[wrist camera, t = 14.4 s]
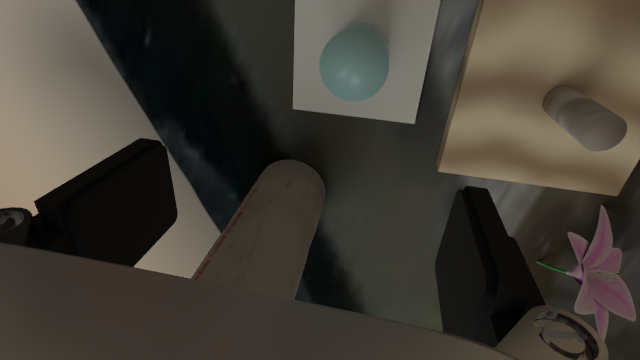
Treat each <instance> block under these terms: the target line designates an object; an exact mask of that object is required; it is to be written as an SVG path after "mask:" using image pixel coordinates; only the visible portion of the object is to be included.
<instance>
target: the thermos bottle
mask: <svg viewBox="0 0 640 360" xmlns="http://www.w3.org/2000/svg"><path fill="white" fill-rule="evenodd" d="M325 197H326V189H325V185H324V182H323V180H322V178H321V177H320V176H319V174H318V173H317V172H316V171H315V170H314V169H313V168H311V167H310V166H308V165H307V164H305V163H302V162H300V161H296V160H280V161H277V162H274V163H272V164H270V165H269V166H268V167H267V168H266V169H265V170H264V171H263V172H262V174H261V175H260V177H259V178H258V180H257V181H256V183H255V184H254V186H253V187H252V189H251V190H250V192H249V193H248V195H247V196H246V198H245V199H244V201H243V202H242V204H241V205H240V207H239V208H238V209H237V211H236V213H235V214H234V216H233V217H232V219H231V220H230V222H229V223H228V225H227V226H226V228H225V229H224V231H223V232H222V234H221V235H220V237H219V238H218V239H217V241H216V242H215V244H214V245H213V247H212V248H211V250H210V251H209V253H208V254H207V256H206V257H205V259H204V260H203V262H202V263H201V265H200V266H199V267H198V269H197V270H196V272H195V274H194V275H193V276H192V278H191V279H194V280H199V281H204V282H209V283H214V284H219V285H224V286H229V287H234V288H239V289H243V290H248V291H253V292H258V293H263V294H268V295H273V296H278V297H283V298H288V299H293V300H294V299H295V295H296V292H297V289H298V286H299V282H300V279H301V276H302V273H303V270H304V266H305V263H306V259H307V254H308V250H309V247H310V244H311V241H312V239H313V236H314V234H315V231H316V228H317V224H318V221H319V218H320V215H321V212H322V208H323V205H324V202H325Z"/></svg>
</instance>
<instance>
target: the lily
mask: <svg viewBox="0 0 640 360" xmlns="http://www.w3.org/2000/svg"><path fill="white" fill-rule="evenodd" d="M568 237H569V240H570V242H571V244H572V247H573V249H574V252H575V254H576V257H577V259H578V262H579V264H578V265H577V266H576V267H575V268H574V269H573V270H572V271H566V270H561V269H558V268H555V267H552V266H550V265H547V264H545V263H543V262H540V261H536V262H537V263H539V264H541V265H543V266H545V267H547V268H550V269H552V270H555V271H558V272H561V273H565V274H568V275H571V276H573V277H574V278H575V280H576V281H577V282H578V283H579V284H580V286H581V289H580V292H579V294H578V297H577V300H576V303H575V306H574V311H575V312H576V313H577V314H594V315H595V319H596V324H597V329H598V334H599V335H600V337H601V338H602V340H603V341H605V337H606V333H607V328H608V320H609V312H608V310H609V311H611V312H612V313H614V314H616V315H618V316H621V317H623V318H626V319H628V320H631V321H635V320H636V313H635V307H634V304H633V300H632V297H631V294H630V292H629V290H628V288H627V286H626V284H625V283H624V281H623V280H622V279H621V278H620V277H621V275H617V274H618V273H619V272H621V271H619V270H620V266H621V261H622V252H621V249H619V248H612V243H613V237H612V230H611V226H610V222H609V219H608V215H607V213H606V210H605V208H604V207H603V205H601V208H600V215H599V221H598V227H597V230H596V233H595V236H594V238H593V241H592V243H591V245H590V247H589V243H588V242H587V241H586V240H585V239H584V238H582V237H581V236H579V235H577V234H575V233H571V232H568ZM584 256H585V257H584ZM583 258H584V259H583ZM582 259H583V261H582V262H581V260H582ZM619 276H620V277H619Z"/></svg>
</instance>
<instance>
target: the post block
mask: <svg viewBox="0 0 640 360" xmlns="http://www.w3.org/2000/svg"><path fill="white" fill-rule="evenodd" d="M639 159H640V0H479V1H478V5H477V9H476V12H475V16H474V20H473V24H472V28H471V31H470V35H469V39H468V43H467V47H466V50H465V54H464V58H463V62H462V66H461V69H460V73H459V77H458V81H457V85H456V88H455V92H454V96H453V100H452V104H451V107H450V111H449V115H448V119H447V123H446V126H445V130H444V134H443V138H442V142H441V145H440V149H439V153H438V157H437V161H436V164H437V168H438V171H439V172H446V173H453V174H460V175H468V176H475V177H482V178H489V179H496V180H504V181H511V182H518V183H525V184H533V185H540V186H547V187H554V188H562V189H569V190H576V191H583V192H591V193H598V194H605V195H612V196H618V194H619V192H620V191H621V189H622V187H623V186H624V184H625V182H626V181H627V179H628V177H629V176H630V174H631V172H632V171H633V169H634V167H635V166H636V164H637V162H638V161H639Z"/></svg>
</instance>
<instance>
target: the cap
mask: <svg viewBox="0 0 640 360" xmlns="http://www.w3.org/2000/svg"><path fill="white" fill-rule="evenodd" d="M388 53H389V42H388V41H387V39H386V38H385V37H384V35H383V34H382V33H381V31H380V30H379V28H378V27H377V26H376V24H369V23H357V22H352V23H351V24H349V25H348V26H347V27H346V28H345V29H344V30H343V31H341V32H339V33H337V34H336V35H335V36H333V37H332V38H331V39H330V40H329V41H328V43H327V44H326V45H325V47H324V49H323V51H322V53H321V57H320V63H319V69H320V75H321V78H322V81H323V83H324V85H325V86H326V87H327V89H328V90H329V91H330V92H331V93H332V94H333V95H335V96H336V97H338V98H340V99H343V100H346V101H361V100H365V99H368V98H370V97H371V96H373V95H374V94H376V93H377V92H378V91H379V90H380V89H381V88H382V86H383V85H384V83H385V81H386V79H387V76H388V72H389V55H388Z"/></svg>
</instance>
